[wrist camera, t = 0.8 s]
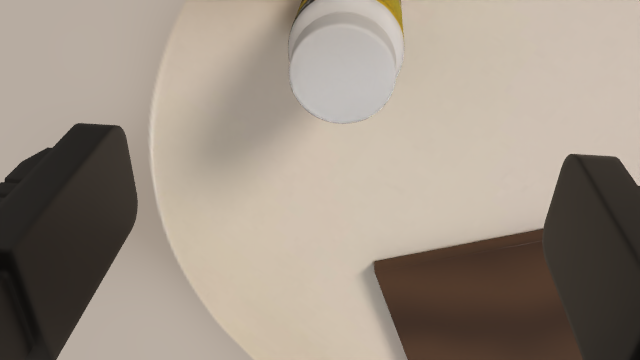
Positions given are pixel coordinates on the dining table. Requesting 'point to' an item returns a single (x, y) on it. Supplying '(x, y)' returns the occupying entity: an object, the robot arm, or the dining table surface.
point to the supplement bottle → (345, 57)
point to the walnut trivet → (478, 302)
